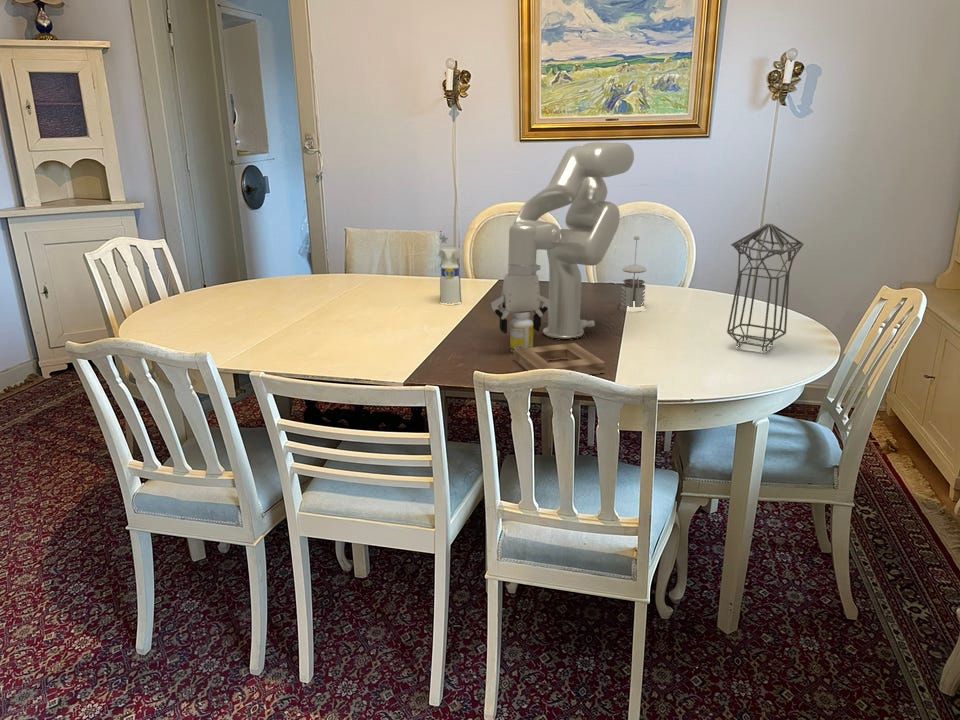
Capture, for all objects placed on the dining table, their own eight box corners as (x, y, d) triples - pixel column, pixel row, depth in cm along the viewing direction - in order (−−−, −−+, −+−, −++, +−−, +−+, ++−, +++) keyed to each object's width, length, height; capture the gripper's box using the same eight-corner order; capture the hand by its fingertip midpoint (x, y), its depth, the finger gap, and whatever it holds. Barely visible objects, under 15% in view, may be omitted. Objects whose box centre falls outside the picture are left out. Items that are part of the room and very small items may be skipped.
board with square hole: (574, 353, 200) (574, 342, 199) (604, 373, 184) (604, 362, 183) (513, 360, 195) (513, 349, 194) (539, 381, 179) (539, 370, 178)
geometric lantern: (737, 337, 214) (750, 218, 203) (792, 347, 204) (809, 223, 193) (716, 349, 202) (729, 224, 191) (773, 360, 193) (790, 229, 182)
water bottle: (462, 305, 253) (461, 234, 245) (438, 305, 253) (436, 234, 245) (463, 300, 261) (462, 230, 253) (440, 300, 261) (438, 231, 253)
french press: (645, 305, 251) (649, 233, 244) (649, 314, 240) (654, 239, 233) (616, 305, 252) (620, 233, 244) (619, 313, 241) (623, 238, 233)
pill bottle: (531, 347, 206) (532, 307, 202) (534, 354, 200) (534, 313, 196) (509, 347, 206) (509, 308, 202) (510, 354, 200) (511, 314, 196)
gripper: (545, 266, 201) (543, 325, 206) (487, 269, 196) (486, 329, 201) (556, 271, 195) (554, 332, 200) (496, 273, 189) (495, 336, 194)
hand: (520, 331), depth 200 cm, fingers open, 9 cm apart
